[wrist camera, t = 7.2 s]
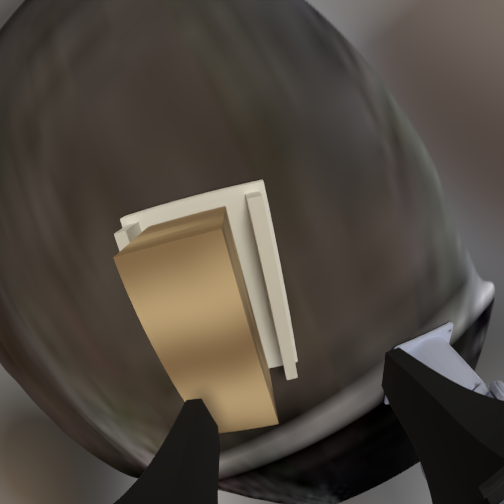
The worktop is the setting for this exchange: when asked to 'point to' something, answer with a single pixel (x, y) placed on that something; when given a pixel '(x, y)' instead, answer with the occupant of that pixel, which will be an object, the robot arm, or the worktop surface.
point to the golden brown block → (201, 316)
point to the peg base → (240, 258)
